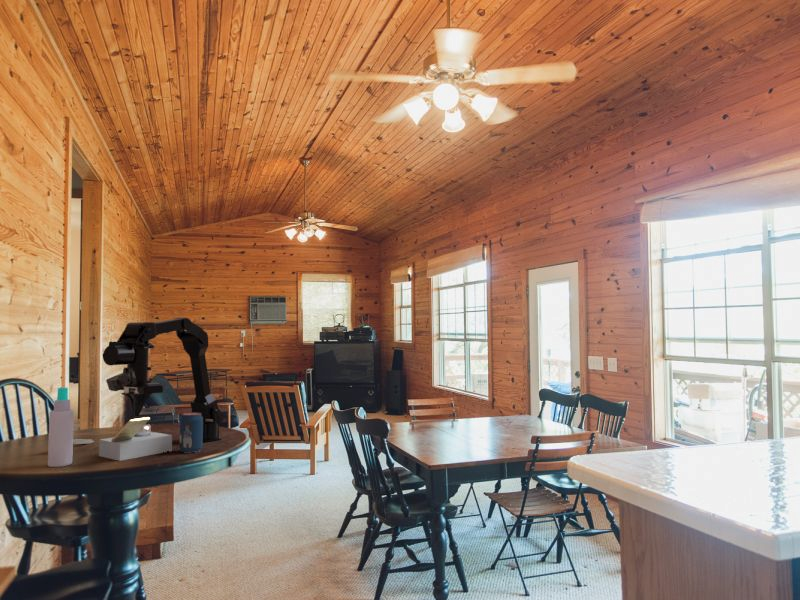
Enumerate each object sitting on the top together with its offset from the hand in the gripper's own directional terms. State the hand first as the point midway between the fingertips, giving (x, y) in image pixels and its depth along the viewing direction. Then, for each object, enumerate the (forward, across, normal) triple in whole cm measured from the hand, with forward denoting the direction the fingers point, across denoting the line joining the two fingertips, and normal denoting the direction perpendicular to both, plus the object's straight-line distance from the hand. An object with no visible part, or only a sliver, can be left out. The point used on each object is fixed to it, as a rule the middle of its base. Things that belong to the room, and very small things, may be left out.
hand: (136, 416), depth 165 cm
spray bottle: (+13, -12, -16) cm, 24 cm away
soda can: (+13, +3, +17) cm, 22 cm away
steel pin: (+13, -11, +8) cm, 19 cm away
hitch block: (+13, -9, +6) cm, 17 cm away
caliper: (+14, -35, -1) cm, 38 cm away
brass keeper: (+4, -2, 0) cm, 5 cm away
